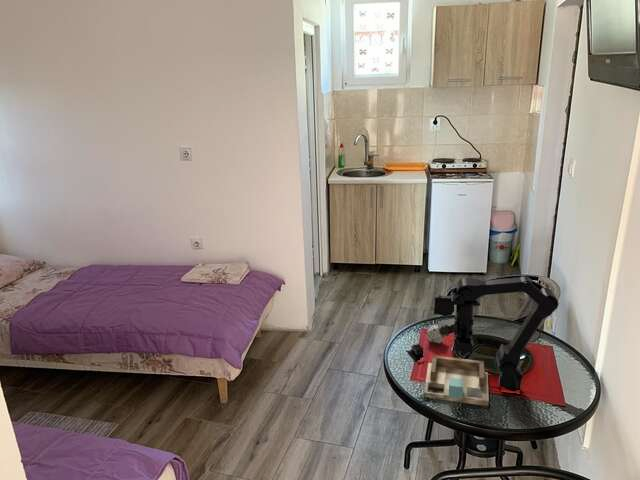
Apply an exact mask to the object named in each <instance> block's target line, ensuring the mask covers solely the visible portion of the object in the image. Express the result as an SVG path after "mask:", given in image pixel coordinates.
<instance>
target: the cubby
mask: <svg viewBox="0 0 640 480" xmlns="http://www.w3.org/2000/svg"><path fill="white" fill-rule="evenodd" d="M431 359H432V360H431V363H432V365H431V375H430V380H435V374H436V366H439V367H447V368H455V369H464V370H472V371H479V386H481V387H484V370H485V363H484V362H485V361H484V360H475V359H467V358H458V357H450V356H441V355H432V358H431Z"/></svg>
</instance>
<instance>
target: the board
mask: <svg viewBox="0 0 640 480" xmlns="http://www.w3.org/2000/svg"><path fill="white" fill-rule="evenodd" d="M431 365H432V362H428V363H427V369H426V370H427V371H426V377H425V384H424V391H423V398H427V397H429V399H436V400H441V401H449V402H456V403H462V404H463V403H464V404H471V405H478V406H485V407H489V402H490V397H489V377H488V375H489V374H488V373H489V372H485V371H484V387H481V386H479V371H472V370H464V369H455V368H447V367H439V366H436V374H435V380H430V375H431ZM450 378H456V379H463V397H462V399H461V398H454V397H449V381H450Z"/></svg>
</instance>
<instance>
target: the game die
mask: <svg viewBox="0 0 640 480" xmlns="http://www.w3.org/2000/svg"><path fill="white" fill-rule="evenodd" d="M424 334H426V335H427V338H428V342H429V343H431V342H432V343H435V344H439V346H440V345H441V346H442V344H441V343H442V342H443V341H444V340H445V339H446V337H448V336H449V335H444V336H442V335H441V334H440V333H439V328H438V324H435V323H433V322H431V325H430V327H429V328H428V329H427V330H426V331H424ZM428 342H427V343H428Z"/></svg>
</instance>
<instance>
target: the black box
mask: <svg viewBox="0 0 640 480" xmlns="http://www.w3.org/2000/svg"><path fill="white" fill-rule="evenodd" d="M405 352H406V353H407V354H408V355H409V357H410V358H411V359H412V360H413V361H414V363H416V362H417V361H418V360H420V358H422V357H424V356H423V354H424V347H422V346H421V344H419V343H417V344H412V346H411V349H409V350H406V351H405Z"/></svg>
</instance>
